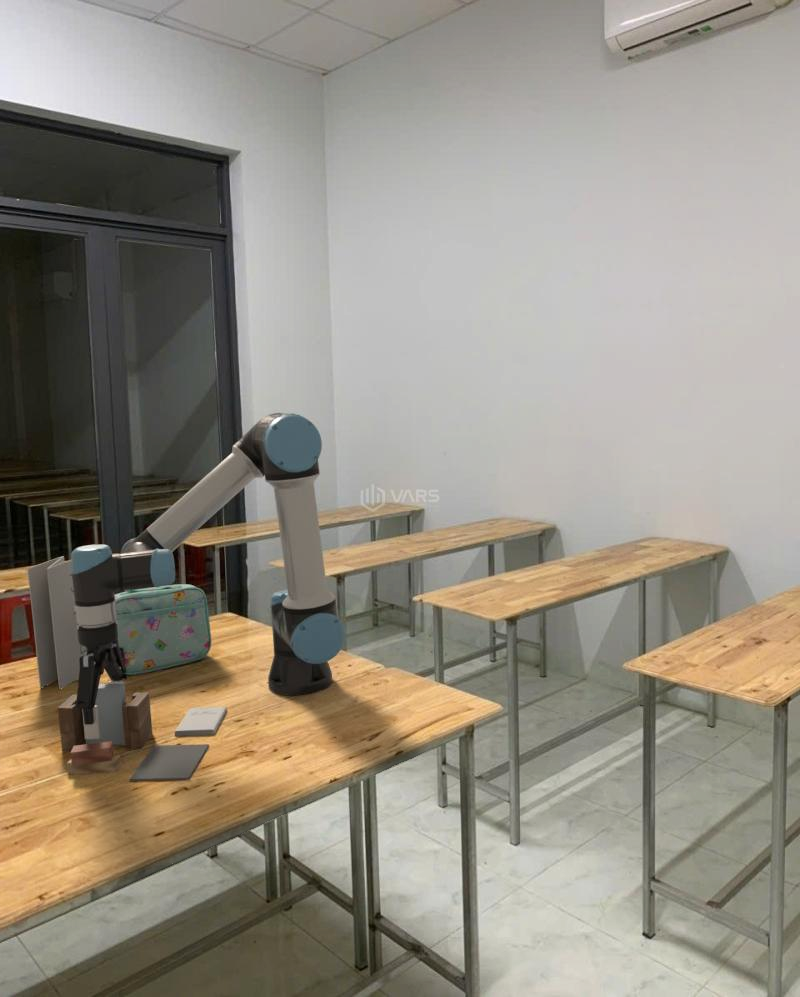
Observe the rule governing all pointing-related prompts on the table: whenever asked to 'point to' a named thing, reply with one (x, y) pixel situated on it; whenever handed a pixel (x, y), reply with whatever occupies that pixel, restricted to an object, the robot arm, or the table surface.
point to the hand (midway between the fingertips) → (106, 724)
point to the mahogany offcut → (92, 753)
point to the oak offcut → (95, 766)
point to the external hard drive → (201, 721)
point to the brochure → (55, 622)
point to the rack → (133, 722)
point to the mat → (170, 762)
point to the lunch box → (162, 627)
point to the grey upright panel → (110, 713)
